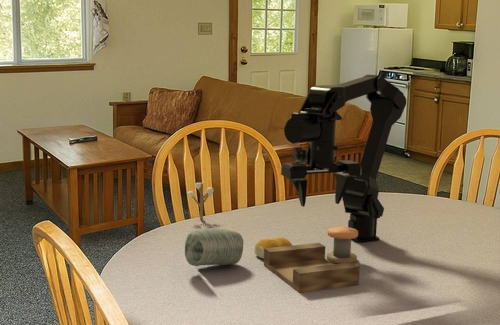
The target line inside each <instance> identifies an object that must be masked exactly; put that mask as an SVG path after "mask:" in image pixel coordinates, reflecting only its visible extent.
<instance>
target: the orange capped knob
mask: <svg viewBox="0 0 500 325" xmlns="http://www.w3.org/2000/svg"><path fill="white" fill-rule="evenodd" d="M327 236H328V237H330V238H333V251H330V252H327V253H326V260H327V261H329V262H331V263H332V264H341V263H350V262H353V263H355V264H356V263H357V259H358V255H357V254H355V253H353V252H351V251H352V240H354V238H357V237H358V231H357V230H356V229H353V228H349V227H348V226H347V227H346V226H334V227H329V228H327Z"/></svg>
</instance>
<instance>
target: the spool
mask: <svg viewBox="0 0 500 325" xmlns="http://www.w3.org/2000/svg"><path fill="white" fill-rule="evenodd" d="M185 238H186V239H185V243H184V257H185V259H186V262H187V263H188V264H189V265H190V266H194V267H199V266H200V267H201V266H211V265H212V266H216V265H218V266H223V265H224V266H225V265H228V266H229V265H235V264H236V265H237V264H238V263H239V262H240V261H241V260H242V259H241V258H242V256H243V252H244V238H243V236H242V235H241V233H240V232H239V231H236V230H234V229H230V228H220V227H219V228H218V227H216V228H215V227H213V228H212V227H211V228H202V229H194V230H191V231H190V232H189V233H188V234H187V236H186V237H185Z"/></svg>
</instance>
